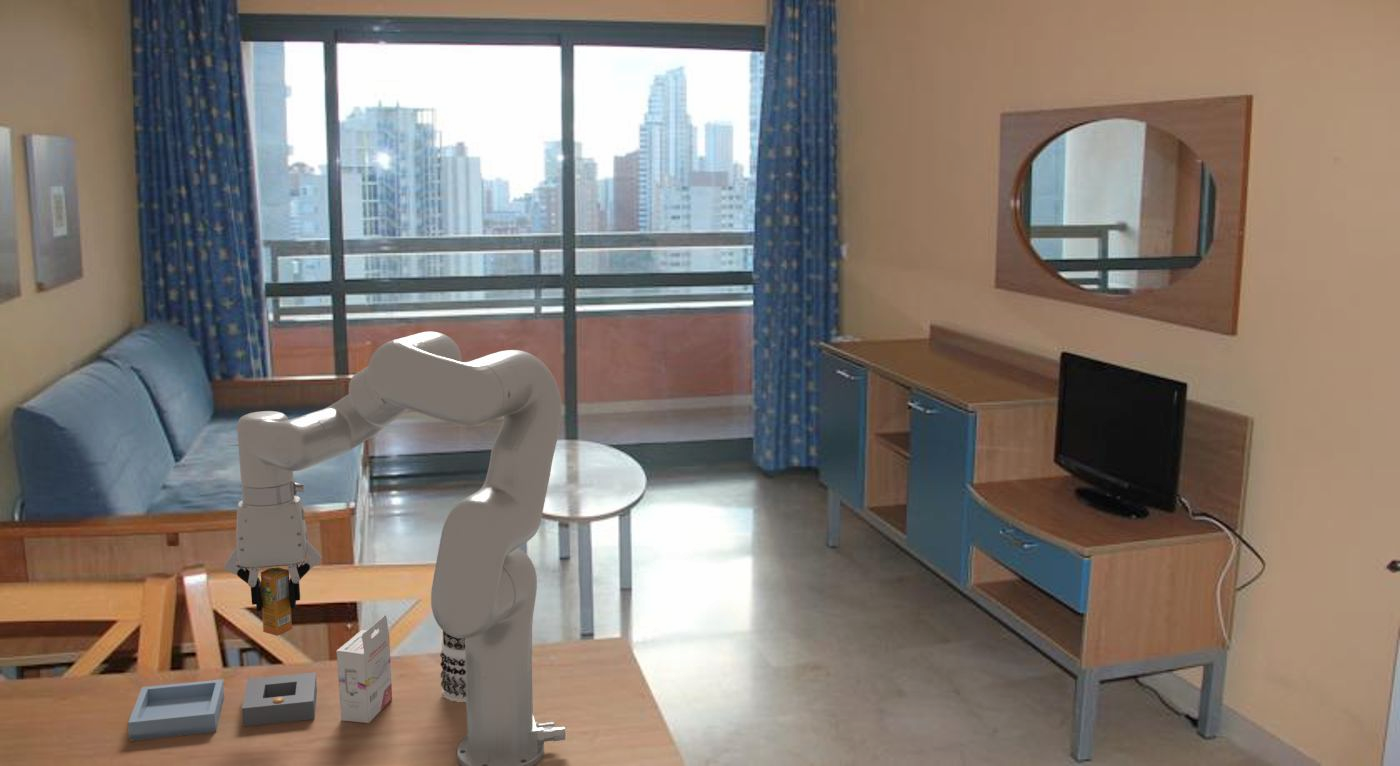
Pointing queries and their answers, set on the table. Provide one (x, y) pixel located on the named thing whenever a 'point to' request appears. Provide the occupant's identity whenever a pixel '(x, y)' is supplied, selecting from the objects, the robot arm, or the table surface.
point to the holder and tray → (220, 705)
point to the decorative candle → (453, 668)
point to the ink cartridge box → (365, 673)
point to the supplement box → (276, 601)
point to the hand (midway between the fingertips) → (276, 605)
